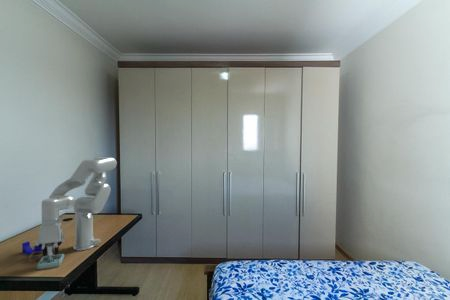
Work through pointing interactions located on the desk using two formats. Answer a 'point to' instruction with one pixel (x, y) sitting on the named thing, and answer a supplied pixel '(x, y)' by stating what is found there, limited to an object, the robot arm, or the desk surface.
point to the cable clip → (29, 248)
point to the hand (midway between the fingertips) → (50, 254)
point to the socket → (35, 256)
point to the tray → (45, 265)
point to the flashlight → (50, 252)
